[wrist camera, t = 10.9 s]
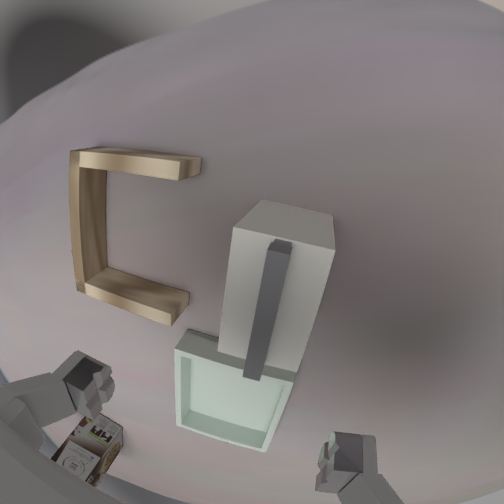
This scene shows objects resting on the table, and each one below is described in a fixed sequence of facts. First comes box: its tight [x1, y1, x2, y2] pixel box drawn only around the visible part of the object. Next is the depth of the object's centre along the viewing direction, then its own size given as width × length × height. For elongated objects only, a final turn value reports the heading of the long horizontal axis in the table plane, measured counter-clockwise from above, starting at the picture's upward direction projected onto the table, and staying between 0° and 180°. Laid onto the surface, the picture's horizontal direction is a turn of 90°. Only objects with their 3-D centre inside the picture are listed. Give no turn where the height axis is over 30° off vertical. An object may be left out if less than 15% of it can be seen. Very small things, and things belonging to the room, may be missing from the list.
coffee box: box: [51, 413, 123, 487], centre depth 33 cm, size 9×6×16 cm
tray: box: [175, 329, 296, 452], centre depth 27 cm, size 10×12×3 cm
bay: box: [69, 147, 202, 326], centre depth 22 cm, size 10×12×4 cm
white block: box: [217, 199, 336, 381], centre depth 18 cm, size 5×8×9 cm, turn 171°
